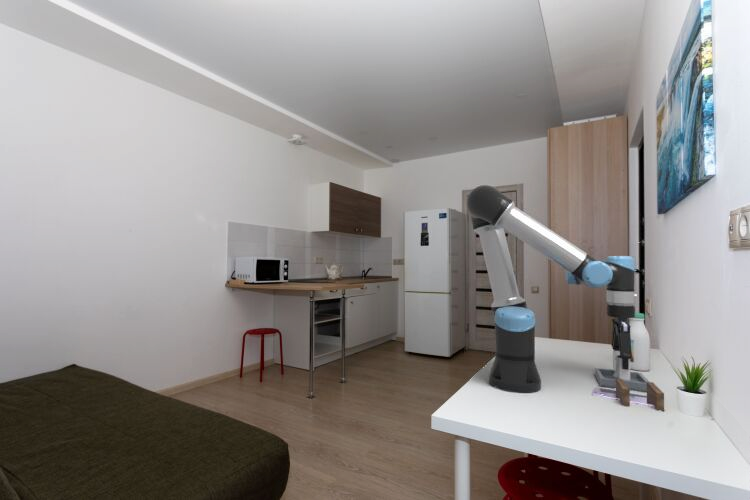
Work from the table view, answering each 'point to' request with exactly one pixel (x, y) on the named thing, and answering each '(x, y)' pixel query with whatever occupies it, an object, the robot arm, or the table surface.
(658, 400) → the walnut bracket
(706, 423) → the table surface
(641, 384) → the charcoal tray
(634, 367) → the milk bottle
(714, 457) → the table surface
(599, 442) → the table surface
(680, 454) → the table surface
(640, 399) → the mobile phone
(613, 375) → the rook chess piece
